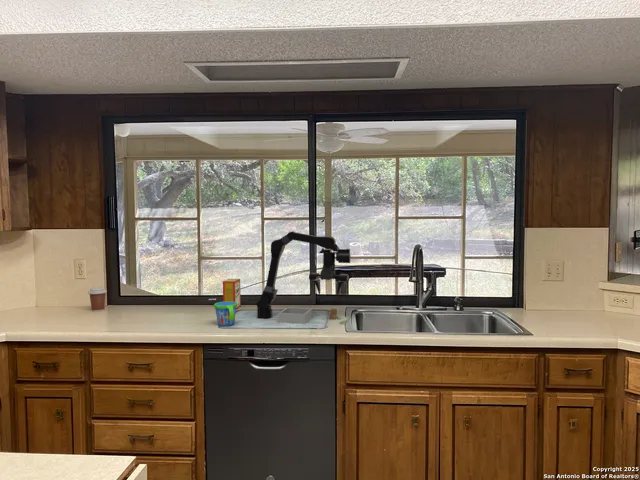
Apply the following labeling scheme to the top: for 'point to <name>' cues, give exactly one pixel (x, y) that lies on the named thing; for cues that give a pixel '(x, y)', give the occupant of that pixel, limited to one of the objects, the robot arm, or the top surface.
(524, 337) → the top surface
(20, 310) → the top surface
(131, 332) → the top surface
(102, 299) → the coffee cup
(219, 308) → the snack cup
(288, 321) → the bin
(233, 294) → the baking soda box
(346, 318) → the lid
